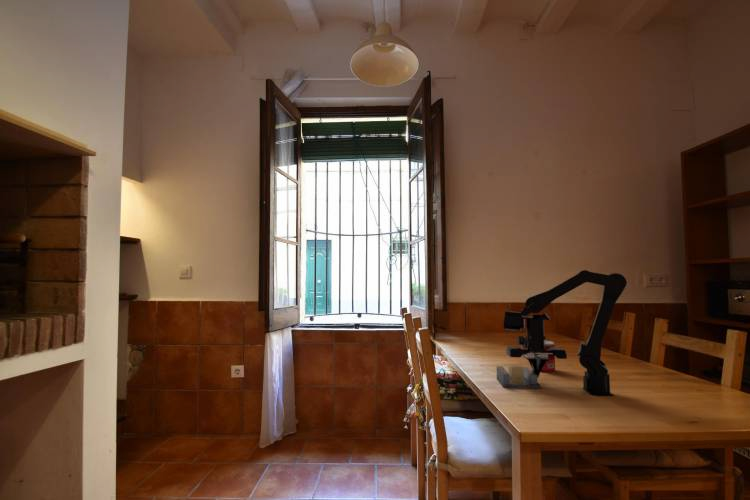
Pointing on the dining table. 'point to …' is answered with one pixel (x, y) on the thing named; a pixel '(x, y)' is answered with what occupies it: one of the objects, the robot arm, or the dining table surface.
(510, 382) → the vise base
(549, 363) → the canned food
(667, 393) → the dining table surface
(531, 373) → the jaw
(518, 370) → the block
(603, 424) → the dining table surface
